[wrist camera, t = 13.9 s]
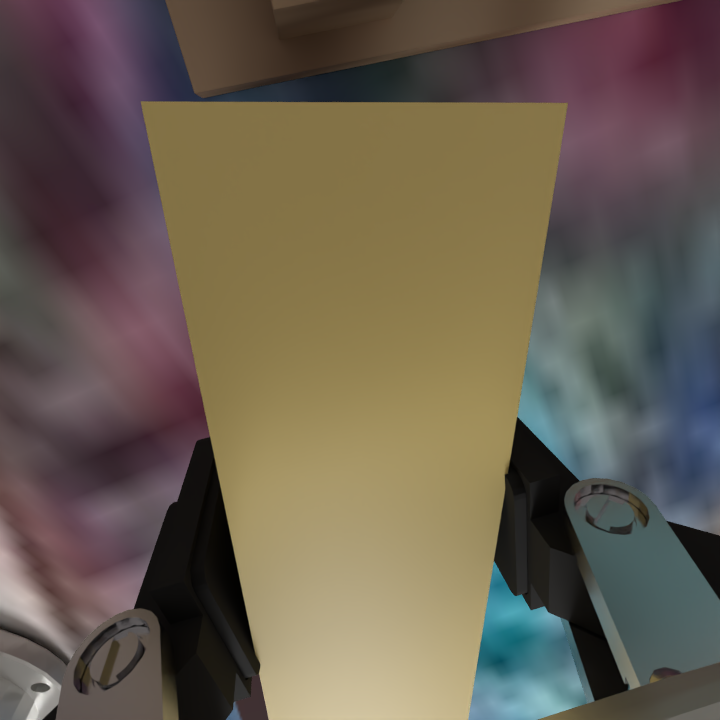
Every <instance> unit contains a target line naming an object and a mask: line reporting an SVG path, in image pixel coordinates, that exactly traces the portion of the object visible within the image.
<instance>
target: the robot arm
mask: <svg viewBox="0 0 720 720" xmlns="http://www.w3.org/2000/svg"><path fill="white" fill-rule="evenodd" d="M494 561H495V563H496V565H497V567H498V568H499V570H500V572H501V574H502V576H503V578H504V579H505V581H506V583H507V585H508V587H509V588H510V590H511V592H512V593H513V594H514V595H515V596H517V595H521V594H522V595H523V597H524V599H525V601H526V602H527V604H528V606H529V608H530V609H531V610H533V609H537V608H540V607H543V606H545V607H546V609H547V611H548V612H549V613H551V614H554V615H556V616H558V617H560V618H561V621H562V624H563V627H564V630H565V633H566V637H567V640H568V643H569V646H570V649H571V653H572V656H573V659H574V662H575V665H576V668H577V672H578V675H579V678H580V681H581V684H582V688H583V691H584V694H585V697H586V700H587V703H588V704H585V705H582V706H578V707H575V708H572V709H569V710H566V711H563V712H560V713H557V714H554V715H551V716H548V717H545V718H541V719H538V720H720V536H719V535H715V534H712V533H708V532H704V531H701V530H697V529H694V528H690V527H687V526H683V525H679V524H676V523H672V522H669V521H666V520H665V518H664V517H663V516H662V514H661V513H660V511H659V510H658V508H657V507H656V505H655V504H654V503H653V502H652V501H651V500H650V499H649V498H648V497H647V496H646V495H645V494H643V493H642V492H640V491H639V490H637V489H636V488H634V487H632V486H629V485H627V484H625V483H622V482H619V481H614V480H610V479H599V478H593V479H587V480H582V481H579V480H578V479H577V478H576V477H575V476H574V475H573V474H572V473H571V472H570V471H569V470H568V469H567V468H566V467H565V466H564V464H563V463H562V462H561V461H560V460H559V459H558V458H557V457H556V456H555V455H554V454H553V453H552V452H551V451H550V450H549V449H548V448H547V447H546V446H545V445H544V444H543V443H542V442H541V441H540V440H539V439H538V438H537V437H536V436H535V435H534V434H533V433H532V432H531V430H530V429H529V428H528V427H527V426H526V425H525V424H524V423H523V422H522V421H521V420H520V419H519V418H518V417H517V420H516V426H515V432H514V439H513V445H512V451H511V457H510V463H509V469H508V474H505V494H504V500H503V507H502V513H501V519H500V525H499V531H498V537H497V544H496V550H495V556H494ZM260 665H261V664H260V662H259V660H258V659H257V657H256V655H255V650H254V645H253V641H252V636H251V631H250V626H249V621H248V616H247V612H246V607H245V602H244V597H243V592H242V587H241V583H240V578H239V573H238V568H237V563H236V559H235V554H234V549H233V544H232V539H231V534H230V530H229V525H228V520H227V515H226V510H225V505H224V501H223V496H222V491H221V486H220V481H219V477H218V472H217V467H216V462H215V457H214V452H213V448H212V443H211V438H210V437H209V438H205V439H201V440H198V441H197V442H196V445H195V448H194V451H193V454H192V457H191V460H190V463H189V467H188V470H187V473H186V476H185V479H184V482H183V485H182V488H181V492H180V495H179V498H178V501H177V502H174V503H172V504H171V505H170V506H169V508H168V510H167V513H166V516H165V519H164V522H163V525H162V528H161V531H160V534H159V536H158V539H157V542H156V545H155V548H154V551H153V554H152V557H151V560H150V563H149V566H148V569H147V572H146V575H145V578H144V580H143V583H142V586H141V589H140V592H139V595H138V598H137V601H136V604H135V607H134V609H131V610H127V611H125V612H122V613H119V614H117V615H115V616H113V617H112V618H110V619H109V620H107V621H105V622H104V623H102V624H101V625H100V626H99V627H98V628H96V629H95V630H94V631H93V632H92V633H91V634H90V635H88V636H87V638H86V639H85V640H84V641H83V643H82V644H81V645H80V646H79V647H78V649H77V650H76V651H75V653H74V655H73V656H72V658H71V660H70V662H69V663H68V665H67V666H66V665H65V664H64V662H63V661H62V660H61V659H59V658H58V657H57V656H55V655H54V654H53V653H51V652H50V651H49V650H47V649H46V648H44V647H42V646H40V645H38V644H36V643H34V642H32V641H31V640H29V639H27V638H24V637H21V636H18V635H16V634H13V633H10V632H7V631H5V630H2V629H0V720H226V719H227V717H228V716H229V714H230V713H231V712H232V710H233V702H235V701H238V700H241V699H245V698H247V697H250V696H251V681H252V676H255V675H258V674H259V671H260Z"/></svg>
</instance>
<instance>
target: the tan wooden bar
mask: <svg viewBox="0 0 720 720" xmlns="http://www.w3.org/2000/svg"><path fill="white" fill-rule="evenodd" d="M141 105H142V110H143V115H144V120H145V125H146V129H147V134H148V139H149V144H150V149H151V153H152V158H153V163H154V168H155V173H156V178H157V182H158V187H159V192H160V197H161V202H162V207H163V211H164V216H165V221H166V226H167V231H168V235H169V240H170V245H171V250H172V255H173V260H174V264H175V269H176V274H177V279H178V284H179V289H180V293H181V298H182V303H183V308H184V313H185V317H186V322H187V327H188V332H189V337H190V342H191V346H192V351H193V356H194V361H195V366H196V370H197V375H198V380H199V385H200V390H201V395H202V399H203V404H204V409H205V414H206V419H207V424H208V428H209V433H210V438H211V443H212V448H213V452H214V457H215V462H216V467H217V472H218V477H219V481H220V486H221V491H222V496H223V501H224V505H225V510H226V515H227V520H228V525H229V530H230V534H231V539H232V544H233V549H234V554H235V559H236V563H237V568H238V573H239V578H240V583H241V587H242V592H243V597H244V602H245V607H246V612H247V616H248V621H249V626H250V631H251V636H252V641H253V645H254V650H255V655H256V657H257V659H258V660H259V662H260V664H261V665H260V671H259V674H260V679H261V684H262V689H263V693H264V698H265V703H266V707H267V712H268V718H269V720H468V716H469V710H470V704H471V698H472V692H473V686H474V679H475V673H476V667H477V661H478V655H479V649H480V642H481V636H482V630H483V624H484V618H485V611H486V605H487V599H488V593H489V587H490V581H491V574H492V568H493V562H494V556H495V550H496V544H497V537H498V531H499V525H500V519H501V513H502V507H503V500H504V494H505V474H508V469H509V463H510V457H511V451H512V445H513V439H514V432H515V426H516V420H517V414H518V408H519V402H520V395H521V389H522V383H523V377H524V371H525V364H526V358H527V352H528V346H529V340H530V334H531V327H532V321H533V315H534V309H535V303H536V297H537V290H538V284H539V278H540V272H541V266H542V260H543V253H544V247H545V241H546V235H547V229H548V222H549V216H550V210H551V204H552V198H553V192H554V185H555V179H556V173H557V167H558V161H559V155H560V148H561V142H562V136H563V130H564V124H565V117H566V111H567V105H568V103H411V102H141Z"/></svg>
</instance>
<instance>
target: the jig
mask: <svg viewBox="0 0 720 720" xmlns="http://www.w3.org/2000/svg"><path fill="white" fill-rule="evenodd" d="M165 1H166V4H167V7H168V10H169V14H170V17H171V20H172V23H173V26H174V29H175V33H176V36H177V39H178V42H179V45H180V48H181V52H182V55H183V58H184V61H185V64H186V67H187V70H188V74H189V77H190V80H191V83H192V86H193V89H194V93H195V94H196V95H198V96H200V97H202V98H206V97H211V96H216V95H221V94H226V93H230V92H235V91H240V90H245V89H250V88H255V87H260V86H265V85H270V84H275V83H279V82H284V81H289V80H294V79H299V78H304V77H309V76H314V75H319V74H323V73H328V72H333V71H338V70H343V69H348V68H353V67H358V66H363V65H367V64H372V63H377V62H382V61H387V60H392V59H397V58H402V57H407V56H412V55H416V54H421V53H426V52H431V51H436V50H441V49H446V48H451V47H456V46H460V45H465V44H470V43H475V42H480V41H485V40H490V39H495V38H500V37H505V36H509V35H514V34H519V33H524V32H529V31H534V30H539V29H544V28H549V27H553V26H558V25H563V24H568V23H573V22H578V21H583V20H588V19H593V18H597V17H602V16H607V15H612V14H617V13H622V12H627V11H632V10H637V9H642V8H646V7H651V6H656V5H661V4H666V3H671V2H676V1H681V0H165Z"/></svg>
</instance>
